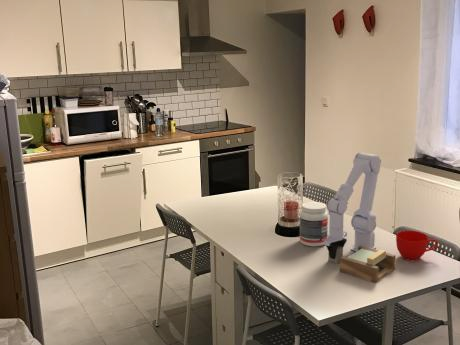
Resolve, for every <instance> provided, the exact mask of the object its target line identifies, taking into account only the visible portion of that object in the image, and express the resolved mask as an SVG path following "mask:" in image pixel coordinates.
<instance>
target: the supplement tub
mask: <svg viewBox="0 0 460 345" xmlns="http://www.w3.org/2000/svg"><path fill="white" fill-rule="evenodd" d="M328 221H329V212H327V204H325V203H324V202H319V201H308V202H304V203H302V204H301V211H300V212H299V241H300V243H301V244H302V245H305V246H308V247H322V246H325V240H327V238H328V237H327V235H328V227H329V222H328Z"/></svg>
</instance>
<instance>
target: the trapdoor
mask: <svg viewBox="0 0 460 345" xmlns="http://www.w3.org/2000/svg"><path fill="white" fill-rule="evenodd" d="M386 253H387V252H386V250H384V249H378V251H377V252H373V251H369V250H366V249H360V250H359V251H354V253H352V254H350V255H348V256H347V257H346V258H350V259H353V260H357V261H360V262H364V263H367V264H370V265H374V266H376V265H375V264H377V263H378V262H380V261H381V260H383V259H384V258H386Z"/></svg>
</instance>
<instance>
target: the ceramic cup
mask: <svg viewBox="0 0 460 345" xmlns="http://www.w3.org/2000/svg"><path fill="white" fill-rule="evenodd" d="M395 236H396V237H395V242H396V248H397V251H398V253H399V255H400V256H401V257H402V258H403V259H404V260H407V261H411V262H412V261H418V260H420V259H421V257H423V256H424V254H425V253H427V252H430V251H433V250H435V249H436V248H437V246H438V244H439V242H438V241H437V239H435V238H434V239H433V238H430V239H429V236H428V235H427V234H426V233H425V232H424V233H423V232H420V231H417V230H416V231H415V230H403V231H402V230H401V231H398V232H397V233H396V235H395ZM431 242H435V244H434V246H432V247H431V248H428V245H429V243H431Z"/></svg>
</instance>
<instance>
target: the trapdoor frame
mask: <svg viewBox="0 0 460 345" xmlns="http://www.w3.org/2000/svg"><path fill="white" fill-rule="evenodd" d="M360 249H366V250H369V251H373V252H377V251H379V249H371V248H367V247H363V246H359V247H358V251H359V250H360ZM379 268H383V269H382V270H381V271H379ZM395 269H396V255H395V254H393V253H389V252H386V258H384V259H383V260H381V261H380V262H378V263H377V264H375V265H370V264H367V263H364V262H360V261H357V260H353V259H350V258H347V257H345V256H344V255H343V256H342V257H341V258H340V262H339V272H340V273H343V274H346V275H350V276H353V277H356V278H358V279H363V280H366V281H369V282H372V283H375V284H376V283H378V282H379V281H380V280H381V279H383V278H385V277H386V276H387V275H388V274H390V273H391V272H392V271H394V270H395Z"/></svg>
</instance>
